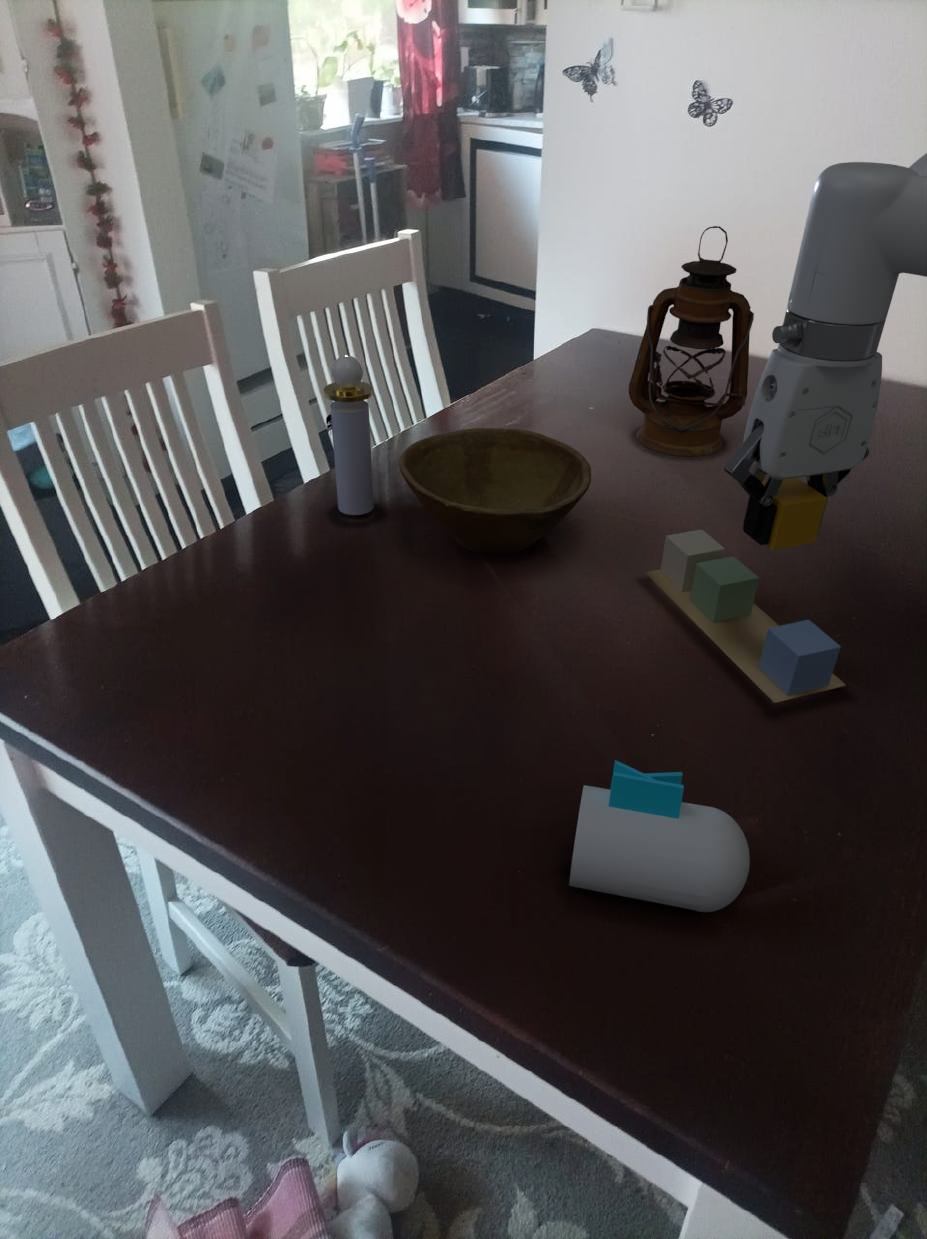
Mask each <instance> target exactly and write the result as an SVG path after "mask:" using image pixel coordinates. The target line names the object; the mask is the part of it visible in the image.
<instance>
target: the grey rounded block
mask: <svg viewBox="0 0 927 1239" xmlns="http://www.w3.org/2000/svg"><path fill="white" fill-rule="evenodd" d="M612 770H613V771H612V778H611V783H610V789H609V788H603V787H598V786H591V785H585V784H583V786H582V787H583V788H582V793H581V798H580V804H579V810H578V817H577V824H576V830H575V836H574V842H573V843H574V844H573V851H572V858H571V864H570V875H569V882H568V886H569V887H573V888H579V889H584V890H588V891H594V892H599V893H605V894H609V895H614V896H620V897H624V898H631V899H635V900H640V901H646V902H650V903H654V904H655V903H656V904H660V905H665V906H671V907H675V908H681V909H687V910H692V911H696V912H698V913H699V912H700V913H712V912H713V913H714V912H717V911H719V910H723V909H724V908H726V907H728V906H729V905H731V904H732V903H733V902H735V900H736V899H737V897H738V896H739V895H740V894H741V893H742V891H743V889H744V888H745V885H746V882H747V879H748V876H749V872H750V865H751V862H750V861H751V860H750V858H751V857H750V849H749V844H748V841H747V839H746V836H745V834H744V833H745V832H744V831H743V830H742V828H741V827H740V825H739V824H738V823H737V821H736V820H735V819H734V818H733V817H732V816H730V815H729V814H728V813H727V812H725V811H723V810H721V809H719V808H716V807H713V806H708V805H701V804H695V803H689V802H684V801H683V795H684V791H685V787H684V784H682V781H683V771H675V772H673V771H672V772H651V773H648V772H647V773H644V772H642V771H641V770H640V771H639V770H638V769H635V768H633V767H631V766H629V765H626V764H625V763H623V762H620V761H618V760H616V759H615V760H614V764H613V769H612Z"/></svg>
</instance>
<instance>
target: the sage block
mask: <svg viewBox="0 0 927 1239" xmlns="http://www.w3.org/2000/svg"><path fill="white" fill-rule="evenodd" d="M759 583H760V577H759V576H758V575H757V574H756V573H754V572H753V571H752V570H751V569H750V568H748V567H747V566H746V565H745V564H744V563H743V562H741V561H740V560H739V559H738V558H737V557H736V556H727V557H723V558H722V559H716V560H711V561H706V562H700V563H696V568H695V573H694V578H693V584H692V589H691V594H690V601H691V602H692V603H693V604H694V605H695V606H696V607H697V608H698V609H699V610H700V611H701V612H702V613H703V614H704V615H706V616H707V617H708V618H709V619H710V620H711V621H712V622H713V623H714V622H719V621H724V620H729V619H734V618H738V617H743V616H748V615H751V611H752V607H753V603H754V604H755V598H756V594H757V591H758V586H759Z"/></svg>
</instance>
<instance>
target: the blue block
mask: <svg viewBox="0 0 927 1239" xmlns="http://www.w3.org/2000/svg"><path fill="white" fill-rule="evenodd" d="M841 648H842V646H841V645H840V644H839V643H837V642H836V641H835V640H834V639H833V638H831V636H829V635H828V634H827V633H825V632H824V631H823V630H822V629H821V628H820V627H818V626H817V625H816V624H815V623H813V621H811V620H810V619H805V620H800V621H795V622H791V623H786V624H782V625H779V626H777V627H772V628H768V631H767V635H766V639H765V643H764V646H763V650H762V654H761V658H760V662H759V666H758V667H759V668H760V669H761V670H762V671H763V672H764V673H765V674H766V675H767V676H768V677H769V678H770V679H771V680H772V681H773V682H774V683H775V684H776V685H777V686H778V687H779V688H780V689H781V690H782V691H783V692H784V693H785V694H786V695H787V696H789V695H793V694H797V693H801V692H805V691H809V690H813V689H818V688H822V687H826V686H828V685H829V682H830V679H831V676H832V673H833V674H834V670H835V666H836V664H837V661H838V658H839V654H840V651H841Z"/></svg>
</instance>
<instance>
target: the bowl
mask: <svg viewBox="0 0 927 1239" xmlns="http://www.w3.org/2000/svg"><path fill="white" fill-rule="evenodd" d="M398 467H399V472H400V473H401V475H402V477H403V478H404V481H405V482H406V484H407V486H408V487H409V489H410V490H411V492H412V493H413V494H414V496H415V497H416V498H417V500H418V501H419V503H420V504H421V505H422V507H423V508H424V509H425V510H426V511H427V513H428V514H429V515H430V516H431V517H432V518H433V520H434V521H435V522H436V524H438V525H439V526H440V527H441V528H442V529H443V530H444V531H445V532H447V533H448V534H449V535H450V536H451V537H452V539H454V540H455V542H457V543H458V544H459V545H460V546H461V547H462V548H464V549H465V550H467V551H470V552H473V553H476V554H481V555H483V553H491V554H492V553H493V554H515V553H520V552H522V551H525V550H527V549H528V548H529V547H531V546H533V545H534V544H536V543H537V542H538V541H539V540H540V539H541V538H543V537H544V536H545V535H547V534H548V533H549V532H551V531H552V530H554V528H556V527H557V525H558V524H559V523H560V522H561V521H563V519H565V517H566V516H568V514H569V513H571V511H572V510H573V509H574V508H575V506H576V505H577V504H578V503H579V502H580V501H581V499H582V498H583V497H584V495H585V494H586V493H587V491H588V490H589V488H590V485H591V482H592V468H591V465H590V463H589V462H588V461H587V459H586V458H585V456H584V455H583V454H582V453H581V452H580V451H578V450H577V449H575V448H574V447H573V446H571V445H569V444H567V443H565V442H562V441H560V440H557V439H554V438H552V437H549V436H546V435H544V434H542V433H539V432H535V431H532V430H524V429H518V428H488V427H485V428H484V427H483V428H482V427H481V428H480V427H478V428H475V427H474V428H467V429H460V430H454V431H452V432H451V431H450V432H445V433H444V432H443V433H440V434H439V433H438V434H435V435H431V436H428V437H426V438H422V439H419V440H417V441H416V442H414V443H412V444H410V445H409V446H408V447H407V448H406V449H404V451H403V452H402V453H401V455H400V456H399V459H398ZM482 552H483V553H482Z"/></svg>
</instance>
